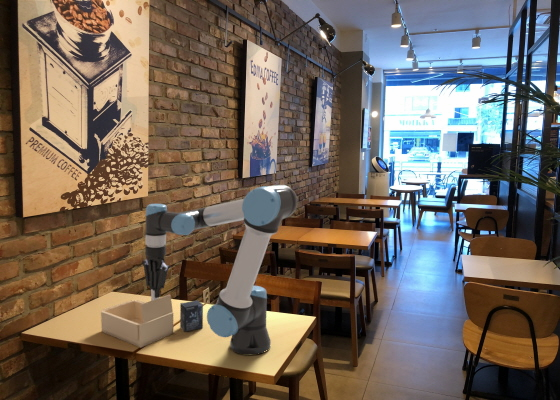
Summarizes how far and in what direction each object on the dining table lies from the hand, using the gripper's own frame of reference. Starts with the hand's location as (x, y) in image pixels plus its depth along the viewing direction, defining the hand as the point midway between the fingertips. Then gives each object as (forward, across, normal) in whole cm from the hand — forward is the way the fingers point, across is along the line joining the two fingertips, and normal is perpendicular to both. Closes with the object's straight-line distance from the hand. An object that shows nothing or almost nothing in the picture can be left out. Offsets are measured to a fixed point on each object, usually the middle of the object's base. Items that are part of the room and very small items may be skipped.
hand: (154, 304), depth 170 cm
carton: (+14, +10, 0) cm, 17 cm away
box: (+14, -4, -16) cm, 22 cm away
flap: (+5, -2, 0) cm, 5 cm away
